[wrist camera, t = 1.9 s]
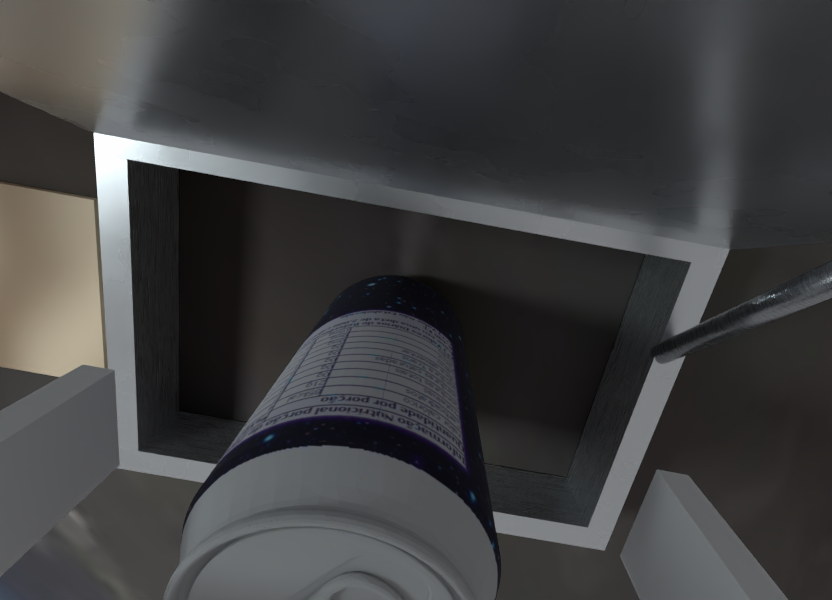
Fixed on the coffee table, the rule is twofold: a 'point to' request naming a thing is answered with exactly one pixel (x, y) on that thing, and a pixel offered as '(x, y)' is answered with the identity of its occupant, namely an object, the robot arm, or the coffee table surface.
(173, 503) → the coffee table surface
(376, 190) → the case
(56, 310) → the pad
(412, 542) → the beverage can
